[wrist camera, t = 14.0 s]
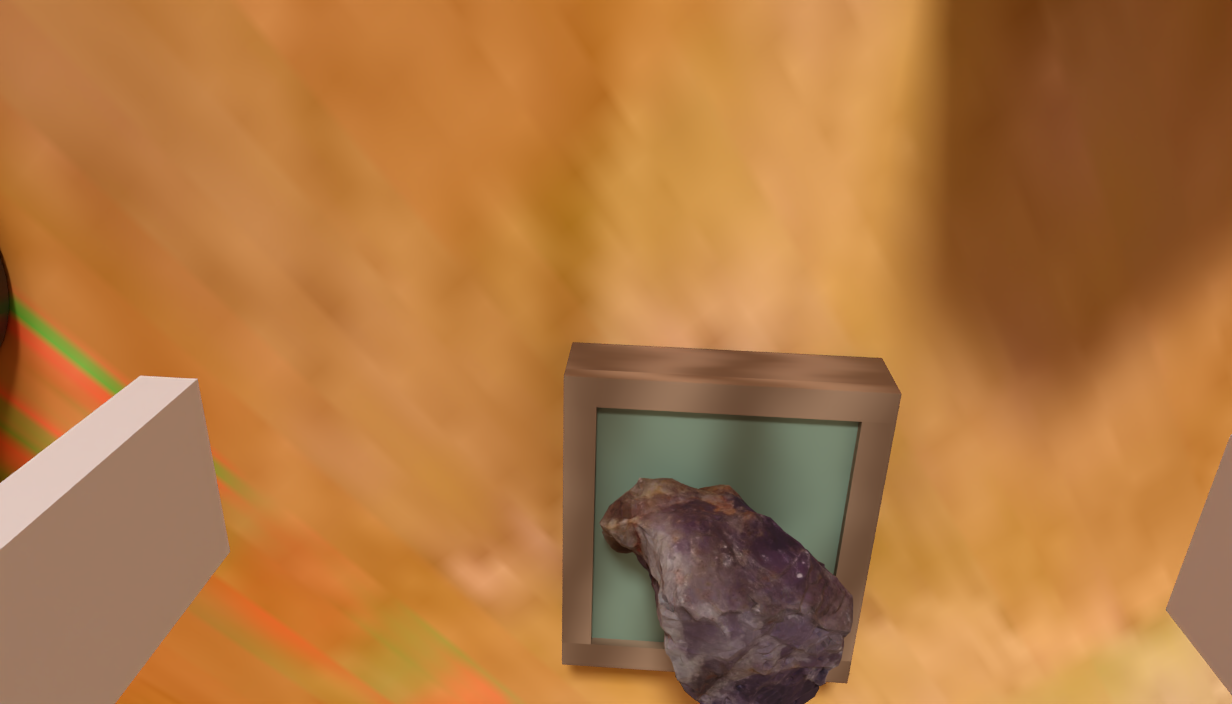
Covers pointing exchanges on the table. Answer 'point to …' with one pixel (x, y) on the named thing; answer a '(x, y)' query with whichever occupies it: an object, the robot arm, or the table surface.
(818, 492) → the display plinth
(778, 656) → the rock
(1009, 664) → the table surface
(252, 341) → the table surface
